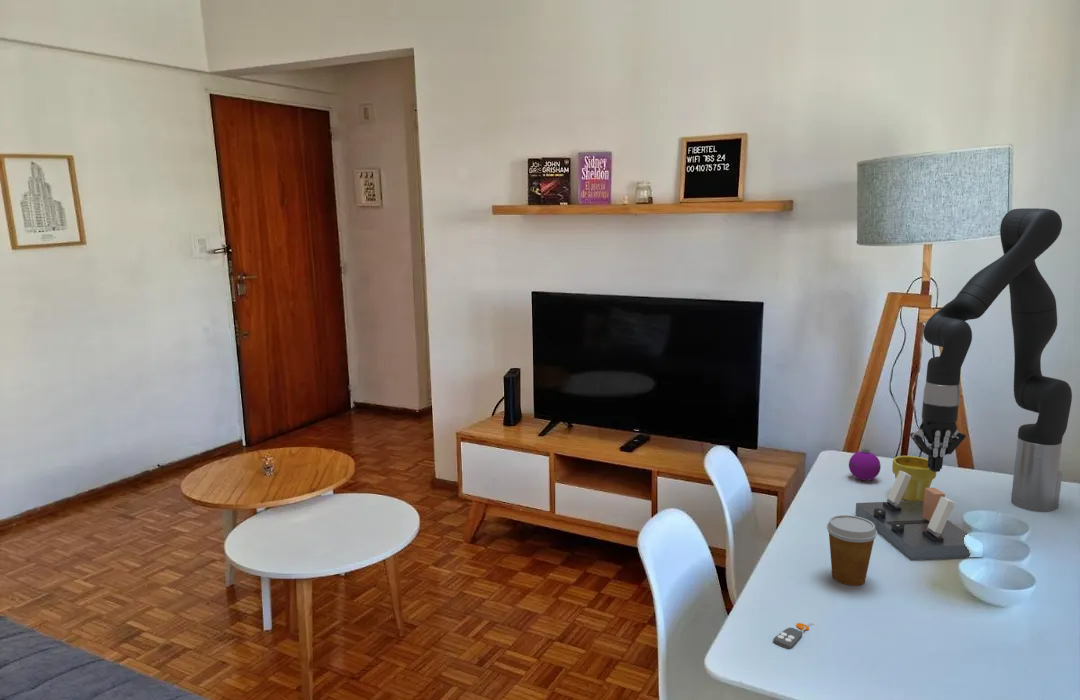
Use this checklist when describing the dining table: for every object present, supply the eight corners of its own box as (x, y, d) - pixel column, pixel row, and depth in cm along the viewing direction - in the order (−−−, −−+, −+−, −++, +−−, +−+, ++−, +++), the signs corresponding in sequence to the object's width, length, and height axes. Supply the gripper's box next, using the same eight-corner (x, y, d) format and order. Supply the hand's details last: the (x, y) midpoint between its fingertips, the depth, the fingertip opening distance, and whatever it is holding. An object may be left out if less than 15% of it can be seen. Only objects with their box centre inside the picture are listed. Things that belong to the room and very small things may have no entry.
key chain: (791, 653, 127) (792, 645, 127) (771, 644, 130) (771, 637, 129) (823, 623, 136) (823, 615, 136) (803, 615, 139) (804, 608, 139)
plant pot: (942, 504, 189) (945, 468, 187) (901, 505, 189) (903, 468, 188) (922, 490, 199) (925, 455, 198) (883, 490, 199) (885, 455, 198)
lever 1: (890, 502, 182) (903, 471, 180) (898, 508, 178) (912, 476, 177) (884, 500, 181) (898, 469, 180) (893, 506, 178) (907, 474, 176)
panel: (917, 511, 185) (918, 494, 184) (982, 557, 160) (984, 537, 159) (855, 514, 184) (856, 497, 183) (911, 560, 159) (912, 540, 158)
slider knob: (932, 516, 174) (934, 487, 172) (942, 523, 170) (945, 493, 168) (922, 516, 173) (924, 487, 172) (932, 523, 170) (934, 494, 168)
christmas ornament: (848, 473, 213) (850, 439, 211) (879, 476, 210) (881, 442, 208) (847, 482, 206) (849, 448, 204) (879, 486, 202) (882, 451, 201)
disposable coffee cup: (871, 571, 155) (875, 517, 153) (875, 592, 146) (880, 535, 144) (823, 564, 158) (826, 511, 156) (824, 585, 149) (827, 529, 147)
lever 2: (930, 531, 165) (945, 497, 164) (940, 538, 161) (956, 503, 160) (924, 529, 165) (939, 495, 163) (934, 536, 161) (950, 501, 160)
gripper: (957, 396, 180) (951, 465, 183) (905, 397, 179) (899, 466, 182) (977, 404, 172) (970, 475, 175) (923, 405, 171) (916, 476, 174)
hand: (934, 470), depth 179 cm, fingers closed
